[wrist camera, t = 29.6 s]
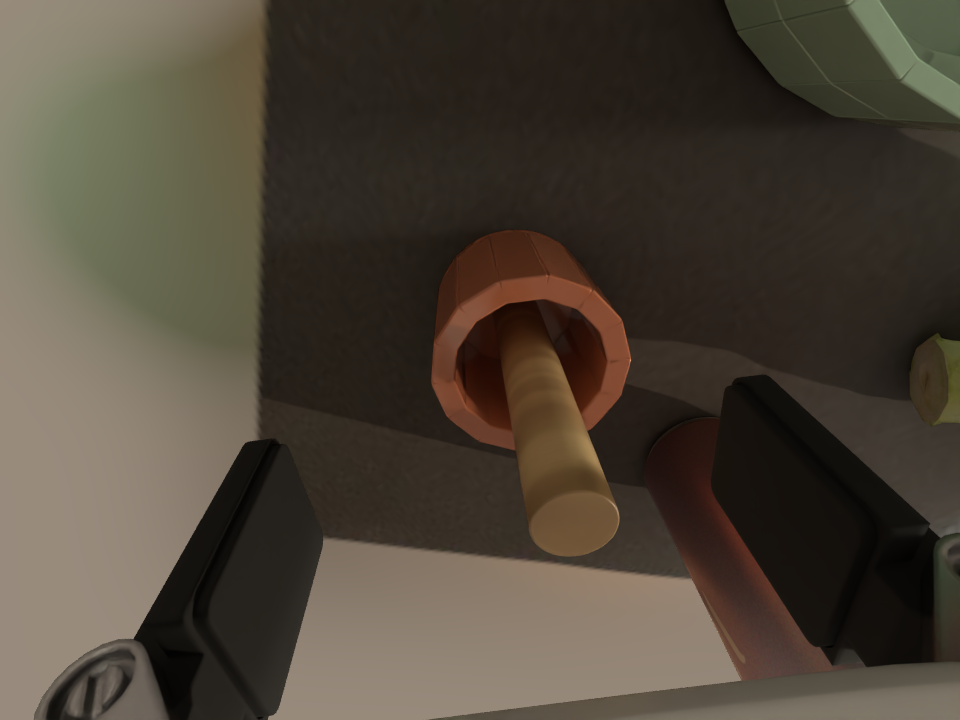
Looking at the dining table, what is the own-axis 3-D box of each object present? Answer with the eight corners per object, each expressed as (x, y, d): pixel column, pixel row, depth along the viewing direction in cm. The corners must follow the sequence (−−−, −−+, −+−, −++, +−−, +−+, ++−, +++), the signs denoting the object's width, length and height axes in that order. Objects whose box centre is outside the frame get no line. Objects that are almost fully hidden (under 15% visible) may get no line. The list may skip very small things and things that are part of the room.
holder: (424, 240, 20) (413, 291, 15) (588, 219, 20) (635, 263, 15) (448, 377, 23) (445, 460, 18) (589, 360, 23) (628, 438, 18)
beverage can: (762, 472, 27) (1057, 833, 14) (659, 512, 28) (839, 881, 15) (736, 392, 24) (1068, 742, 11) (624, 440, 25) (804, 809, 12)
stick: (490, 293, 21) (526, 497, 10) (537, 288, 21) (621, 486, 10) (495, 336, 22) (531, 561, 11) (540, 330, 22) (619, 551, 11)
